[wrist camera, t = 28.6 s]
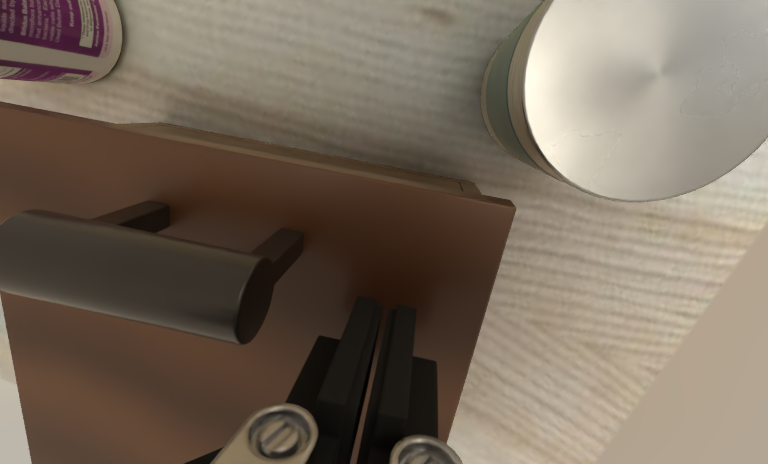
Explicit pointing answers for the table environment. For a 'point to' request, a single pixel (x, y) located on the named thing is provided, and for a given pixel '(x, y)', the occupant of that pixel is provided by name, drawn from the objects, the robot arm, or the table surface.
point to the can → (632, 93)
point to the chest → (309, 156)
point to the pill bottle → (59, 40)
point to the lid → (211, 281)
